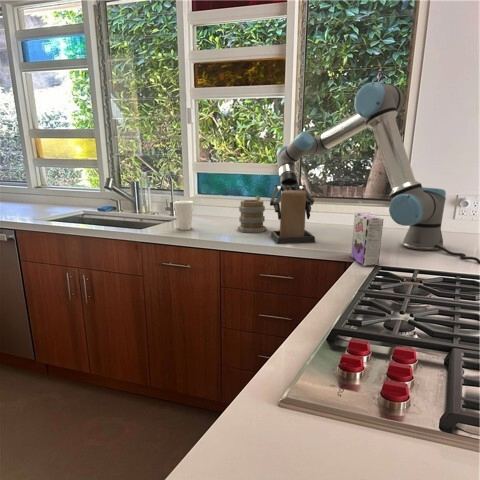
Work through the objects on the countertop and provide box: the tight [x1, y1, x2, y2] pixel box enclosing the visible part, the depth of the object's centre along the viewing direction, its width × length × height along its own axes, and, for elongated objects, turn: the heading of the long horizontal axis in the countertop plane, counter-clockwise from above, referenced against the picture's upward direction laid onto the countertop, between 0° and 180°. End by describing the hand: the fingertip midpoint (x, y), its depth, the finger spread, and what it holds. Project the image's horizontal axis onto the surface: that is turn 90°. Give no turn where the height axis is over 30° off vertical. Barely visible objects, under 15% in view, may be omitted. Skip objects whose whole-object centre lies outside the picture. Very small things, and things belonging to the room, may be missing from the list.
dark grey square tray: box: [270, 229, 316, 245], centre depth 203 cm, size 16×16×2 cm
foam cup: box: [173, 200, 194, 231], centre depth 228 cm, size 10×9×13 cm
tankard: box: [237, 195, 267, 234], centre depth 225 cm, size 20×13×15 cm, turn 161°
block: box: [279, 189, 306, 237], centre depth 199 cm, size 10×10×20 cm
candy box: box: [350, 211, 384, 267], centre depth 162 cm, size 14×6×16 cm, turn 4°
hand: (294, 217), depth 197 cm, fingers closed on block, 12 cm apart
